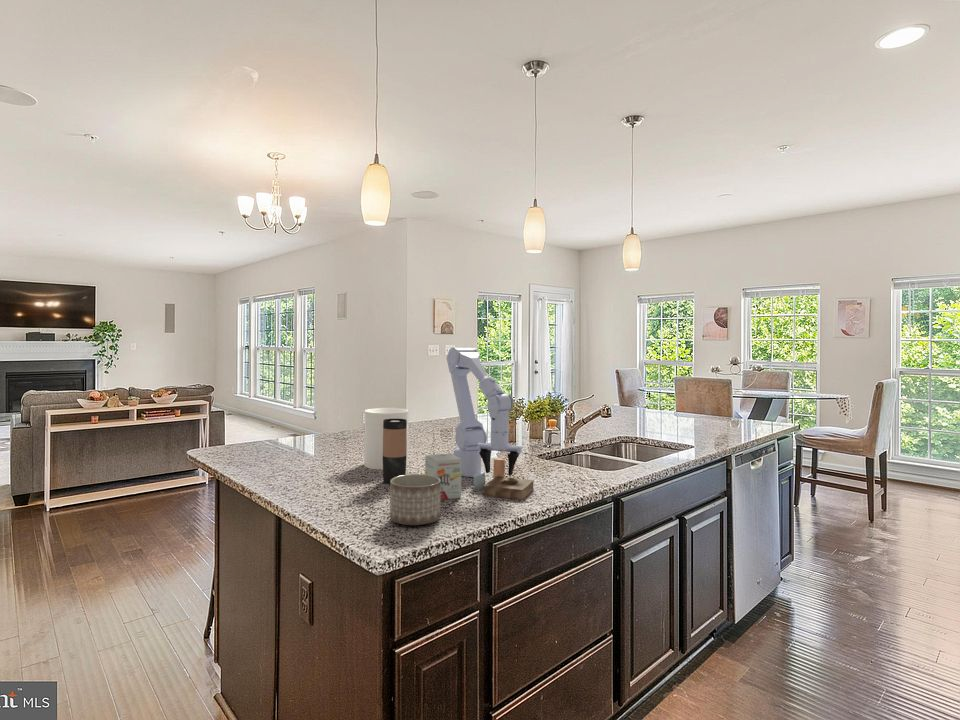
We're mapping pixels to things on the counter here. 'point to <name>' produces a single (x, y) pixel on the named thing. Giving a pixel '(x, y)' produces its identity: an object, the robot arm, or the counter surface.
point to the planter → (415, 499)
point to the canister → (379, 434)
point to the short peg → (479, 481)
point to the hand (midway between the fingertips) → (499, 473)
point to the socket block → (508, 488)
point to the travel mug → (394, 448)
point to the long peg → (499, 467)
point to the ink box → (446, 473)
